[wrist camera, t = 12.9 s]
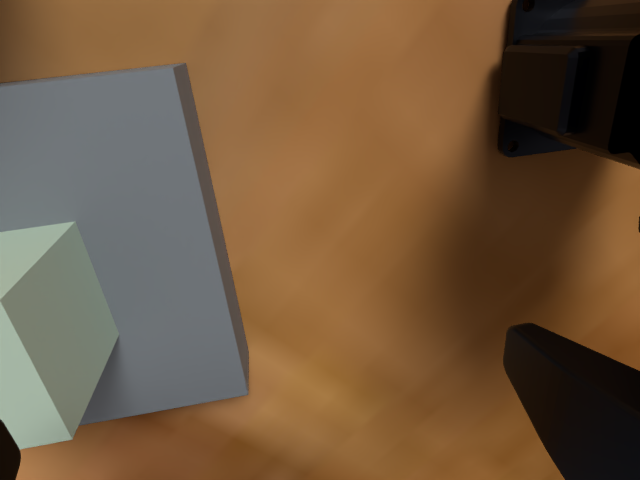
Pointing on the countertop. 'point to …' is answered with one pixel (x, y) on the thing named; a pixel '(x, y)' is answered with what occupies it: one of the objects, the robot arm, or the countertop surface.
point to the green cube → (49, 333)
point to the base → (132, 227)
